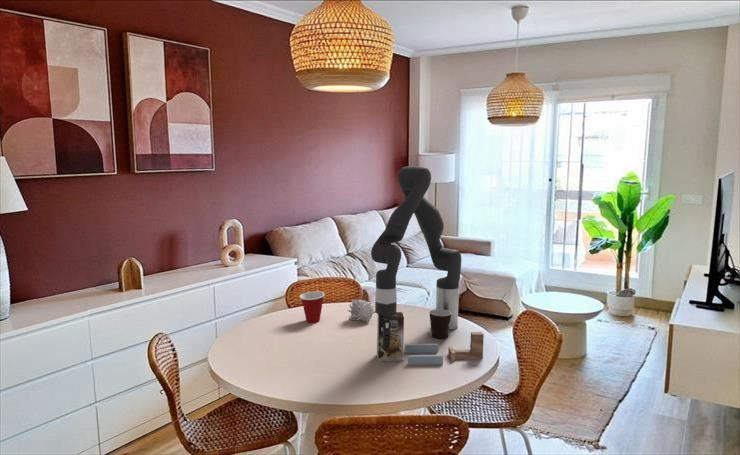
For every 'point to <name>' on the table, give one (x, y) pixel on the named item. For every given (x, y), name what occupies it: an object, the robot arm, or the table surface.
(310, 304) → the plastic cup
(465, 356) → the wooden t-shaped piece
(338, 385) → the table surface
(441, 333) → the coffee mug
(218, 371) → the table surface
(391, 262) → the robot arm
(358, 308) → the sea urchin
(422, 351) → the acrylic channel
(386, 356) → the coffee box
